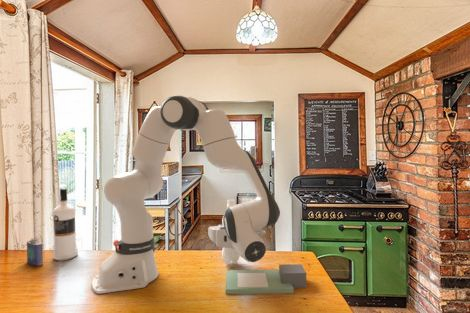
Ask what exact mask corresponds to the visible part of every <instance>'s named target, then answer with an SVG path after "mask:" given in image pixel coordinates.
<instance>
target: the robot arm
mask: <svg viewBox="0 0 470 313" xmlns="http://www.w3.org/2000/svg"><path fill="white" fill-rule="evenodd" d="M177 130H180V131H181V130H182V131H195V132H197V134H198V135H199V137H200V140H201V144H202V148H203V151H204V152H203V153H204V154H205V156H206V160H207V161H208V162H209V163H210V164H211V165H212V166H214V167H216V168H219V169H222V170H234V171H239V172H241V173H243V174H245V176H246V177H247V179H248V181H249V183H250V184H251V187H252V188H253V190H254V193H255V195H256V197H255V198H254V199H250V200H248V201H244V202H240V203H238V204H235V205H234V206H231V207H228V208H227V207H226V209H225V210H226V211H225V212H224V213H223V216H224V217H223V216H222V219H223V222H224V225H222V223H221V224H220V223H219V224H218V225H214V226H213V225H211V226H208V231H207V232H208V234H207V235H208V237H209V240H211V242H213V243H214V244H216V247H217V248H223V247H224V248H232V249H235V250H236V251H237V253H238V254H239V255H240V256H239V257H241V258H242V259H243V260H245V261H246V262H249V263H257V262H258V261H260V260H261V259H263V257H264V256H265V254H266V252H267V246H266V244H265V242H264V240H263V239H262V238H261V237H262V236H264V235H265V234H267V232H266V230H265V229H263V228H267V227H271V226H275V225H276V223H277V222H278V220H279V218H280V216H281V211H280V210H281V209H280V208H279V205H278V203H277V201H276V200H275V198H274V196H273V194H272V193H271V191H270V189H269V187H268V185H267V183H266V181H265V179H264V177H263V175H262V172H261V170H260V168H259V166H258V165H257V163H256V161H255V159H254V157H253V156H252V154H251V153H250V152H249V151H246V150H244V149H242V147H241V146H240V145H239V143H238V141H237V138H236V135H235V132H234V129H233V127H232V124H231V121H230V120H229V118H228V116H227V114H226V113H225V112H224V111H223V110H222V109H219V108H211V109H210V108H208V105H206V104H205V103H204V102H202V101H200V100H197V99H196V98H193V97H191V96H190V97H189V96H183V95H178V94H177V95H176V94H175V95H172V96H170V97H167V98H165V99H164V100H163V102H162V103H161V106H159V105H158V106H153V107H152V108H150V110H149V111H148V113H147V114H146V116H145V118H144V120H143V122H142V124H141V126H140V129H139V130H138V134H137V135H136V136H137V137H136V139H135V141H134V145H133V147H132V151H131V153H132V157H133V158H134V161H135V162H134V168H133V170H131V171H128V172H121V173H119V174H116V175H114V176H111V177H110V178H108V179H107V181H106V182H105V184H104V187H103V192H104V196H105V198H106V200H107V201H108V202H109V203H110V204H111V205H113V206H114V208H115V209H116V211H117V213H118V216H119V222H120V237H121V238H120V240H119V239H114V240H113V243H112V244H113V246H114V248H115V251H114V252H113V253H112V254H111V255H109V257H108V258H106V259H105V260H104V261H102V263H101V265H100V266H99V271H98V274H96V275H95V276H94V277H93V279H92V281H91V290H92V291H93V293H95V294H97V295H99V294H106V293H115V292H122V291H130V290H134V289H142V288H146V286H148V285H149V283H151V282H153V281H154V280H156V279H157V278H158V277H159V271H158V267H157V262H156V258H155V256H156V255H155V250H156V241H155V236H154V222H153V219H154V217H153V215H152V214H151V213H150V212H148V211H147V208H146V206H145V200H147V199H150V198H153V197H154V196H156V195H158V194H159V193H160V192H161V191H162V189H163V187H164V180H163V177H162V176H163V175H162V167H163V162H164V159H165V156H166V153H167V151H168V148H169V145H170V143H171V140H172V138H173V135H174V134H175V132H176V131H177Z"/></svg>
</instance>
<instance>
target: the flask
mask: <svg viewBox="0 0 470 313" xmlns="http://www.w3.org/2000/svg"><path fill="white" fill-rule="evenodd" d="M26 251H27V252H26V254H27V255H26V263H27V264H28V265H31V266H33V267H41V266H44V259H43V242H38V241H37V237H35V238H32V237H31V238H30V240H27V241H26Z"/></svg>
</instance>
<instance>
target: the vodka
mask: <svg viewBox="0 0 470 313" xmlns="http://www.w3.org/2000/svg"><path fill="white" fill-rule="evenodd" d="M59 199H60V203H59V204H58V205H57V206H56V207H55V208H54V209H53V210H52V219H53V241H54V242H53V243H54V244H53V245H54V247H53V248H54V249H53V253H52V254H53V255H52V258H53V260H56V261H67V260H71V259H73V258H74V259H75V257H77V256H78V253H79V249H78V246H77V241H76V240H77V238H76V237H77V235H76V234H77V232H76V208H75V207H74V206H73V205H72V204H71V203H70V204H69V203H68V190H67V188H60V189H59Z"/></svg>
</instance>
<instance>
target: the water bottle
mask: <svg viewBox="0 0 470 313" xmlns="http://www.w3.org/2000/svg"><path fill="white" fill-rule="evenodd" d="M234 205H236V200H235V199H233V198H232V199H231V198H229V199H227V204H226V209H227V208H228V207H231V206H234ZM223 217H224V215H223V216H222V219H221V222H222V223H221V224H222V225H224V222H223ZM240 257H241V256H240V255H239V254H238V253H237V251H236V250H235V249H232V248H224V247H222V250H221V259H222V260H223V262H224V263H225V264H227V265H229V264H230V263H232V264H234V265H235V264H237V263H238V262H239V260H240Z"/></svg>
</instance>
